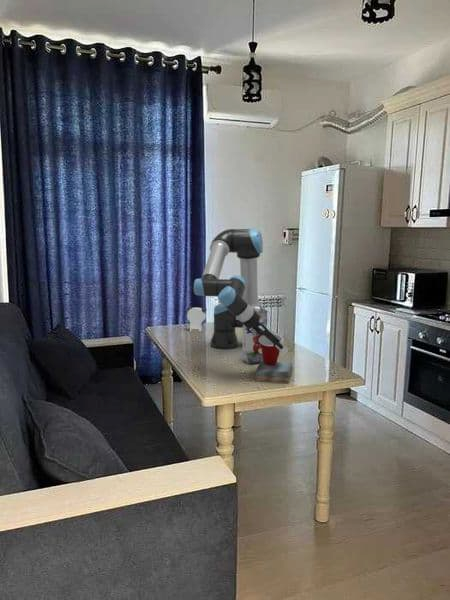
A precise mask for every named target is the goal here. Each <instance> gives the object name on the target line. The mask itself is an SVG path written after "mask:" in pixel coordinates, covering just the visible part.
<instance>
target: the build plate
mask: <svg viewBox="0 0 450 600" xmlns="http://www.w3.org/2000/svg"><path fill="white" fill-rule="evenodd" d="M292 372H293V362H285V361H284V362H283V361H277V363H276V364H275V365H272V366H270V365H266V364H264V361H261V362H260V363H258V366H257V368H256V369H255V377H254V381H255V382H262V383H263V382H264V383H274V384H275V383H276V384H287V385H289V382H290V378H291V376H292Z"/></svg>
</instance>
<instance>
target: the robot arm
mask: <svg viewBox="0 0 450 600" xmlns="http://www.w3.org/2000/svg"><path fill="white" fill-rule="evenodd" d="M263 246H264V242H263V236H262V233H261V231H260V230H259V229H254V228H253V229H252V228H240V229H239V228H236V229H235V228H229V229H225V230H223V231H222V232H220V233H218V234H217V235H216V236H215V237H214V238H213V239H212V241H211V243H210V246H209V250H210V251H209V255H208V258H207V261H206V264H205V267H204V269H203V273H202V276H201V277H200V278H196V279H194V281H193V293H194V295H196V296H201V297H217V299H218V301H219V304H218V303H217V304H216V305H215V306H214V308H213V334H212V336H211V339H210V346H211V347H212V348H214V349H219V350H230V349H236V348H237V347H239V340H238V337H237V333H236V328H241V329H243V325H244V326H245V327H246V328H248V329H250V328H253V329H254V330H255V331H256V332H257V333H258V335H260V336H262V335H264V336H265V337H266V338H267V339H269V340H270V341H271V342H272V343H273V344H274V345H273V346H276V347H277V348H278V349H279V350H280V353H281V354H282V355H283V356H285V355H286V354H287V353H288V352H289V349H288V348H287V347H286V346H285V345H284V344H283V342H282V343H281V342H280V340H279V339H277V338H276V337H275V336H274V335H273V334H274V333H272V332H271V331H270V330H269V329H268V327H267V328H266V327H265V326H264V325H263V324H262V323H260V322H259V320H260V316H259V315H258V314H257V313H256V312H255V311H254V310H253V309H254V307H260V308H262V309H264V306H261V302H260V301H259V300H258V298H259V297H258V293H259V292H258V258H260V256H261V254H262V253H263V251H264V247H263ZM229 253H236V257H237V259H239V265H240V270H239V271H240V275H233V276H231V277H230V278H229V279H222V278H221V279H220V275H221V272H222V269H223V265H224V263H225V259H226V256H228V254H229Z"/></svg>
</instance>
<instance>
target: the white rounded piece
mask: <svg viewBox="0 0 450 600" xmlns="http://www.w3.org/2000/svg"><path fill="white" fill-rule="evenodd" d="M186 310H187V311H188V312H187V315H186V317H187V320H188V321H189V329H190V331H191V330H192V329H199V331H201V330H202V329H203V327H202V326H203V325H204V321H205V320H206V318H207V314H206V313H207V308H206V307H203V308H202V307H191V306H188V307H187V309H186Z"/></svg>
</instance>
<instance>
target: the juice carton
mask: <svg viewBox="0 0 450 600" xmlns="http://www.w3.org/2000/svg"><path fill="white" fill-rule="evenodd" d="M253 310H254V311H255V312H256V313H257V314H258V315H259V316H260V320H259V322H260V323H262V324H263V325H264V326H265V327H266V328H267V329H268V310H267V309H265V308H263V309H262V308H260V307H254V309H253ZM259 337H260V335H258V333H257V332H256V331H255V330H254V329H253V328H250V329H248V328H246V327H245V326H244V325H243V328H242V359H243V361H244V362H245V363H247V364H249V365H255V364H260V362H261V361H263V356H262V349H261V345H260V342H259Z"/></svg>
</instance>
